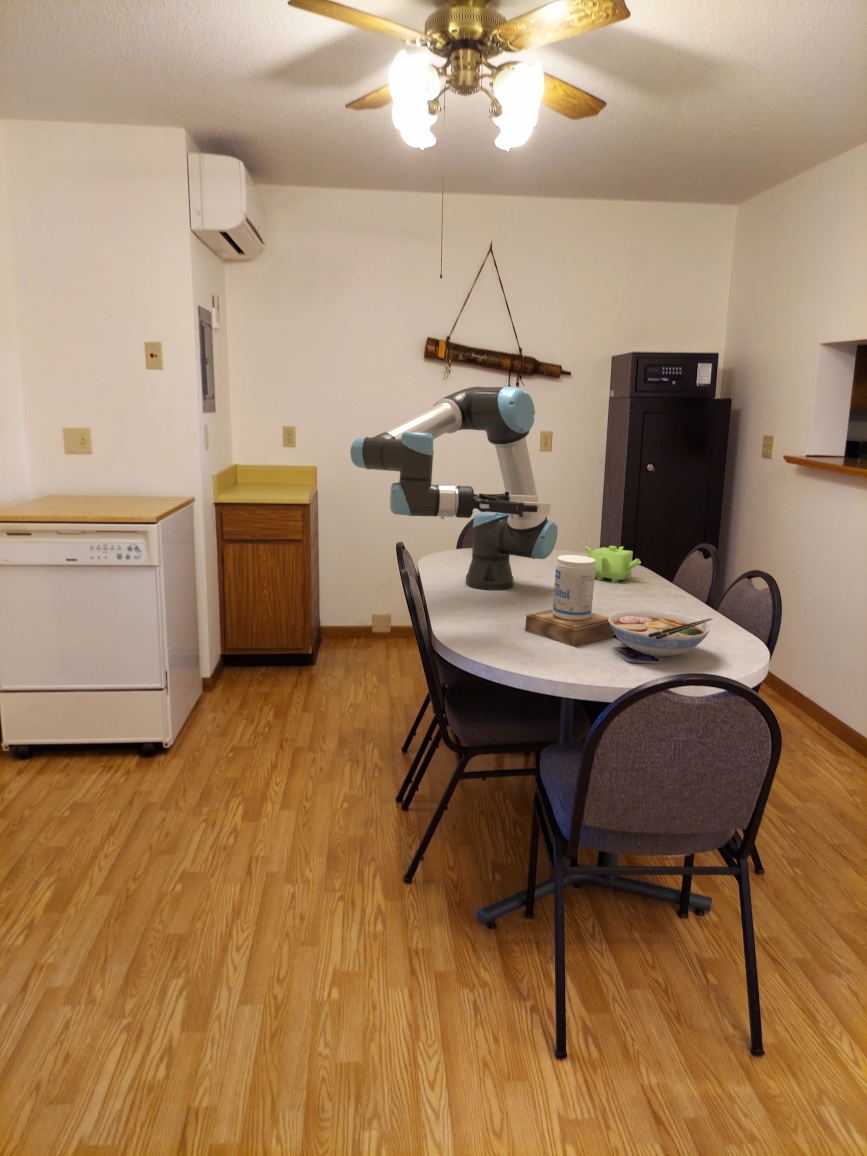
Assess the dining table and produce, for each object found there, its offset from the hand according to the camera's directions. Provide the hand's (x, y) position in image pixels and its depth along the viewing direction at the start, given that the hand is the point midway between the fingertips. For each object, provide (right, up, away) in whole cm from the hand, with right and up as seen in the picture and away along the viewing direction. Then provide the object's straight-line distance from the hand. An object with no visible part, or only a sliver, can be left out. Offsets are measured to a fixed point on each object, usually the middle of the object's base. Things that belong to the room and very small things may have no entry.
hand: (542, 505), depth 186 cm
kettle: (+32, -18, +70) cm, 79 cm away
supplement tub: (+8, -27, +6) cm, 29 cm away
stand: (+8, -31, +7) cm, 33 cm away
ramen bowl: (+25, -35, -7) cm, 44 cm away
